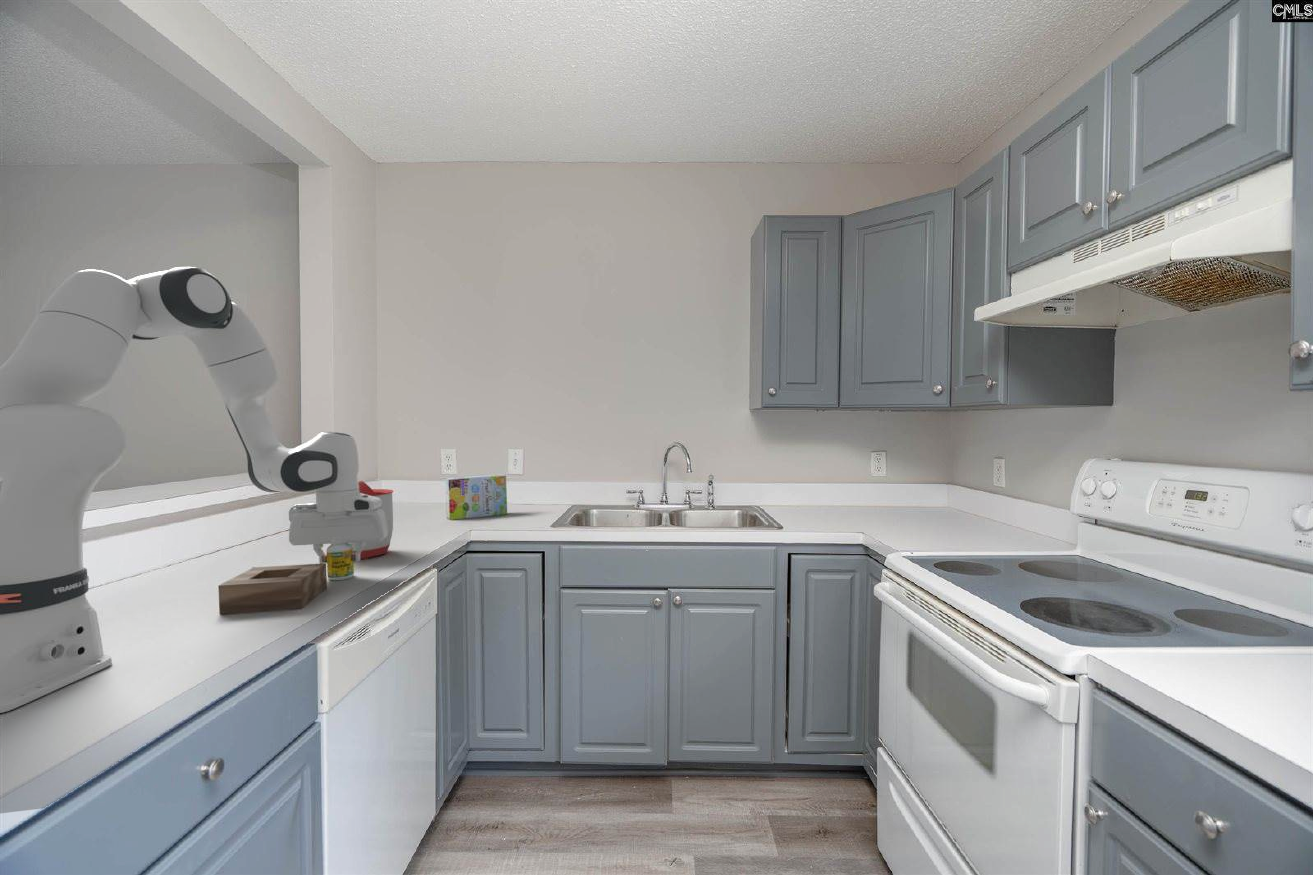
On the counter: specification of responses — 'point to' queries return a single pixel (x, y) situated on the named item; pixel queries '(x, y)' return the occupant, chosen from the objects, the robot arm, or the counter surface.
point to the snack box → (476, 496)
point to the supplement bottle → (339, 560)
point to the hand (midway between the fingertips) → (340, 562)
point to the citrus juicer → (387, 506)
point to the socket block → (272, 588)
